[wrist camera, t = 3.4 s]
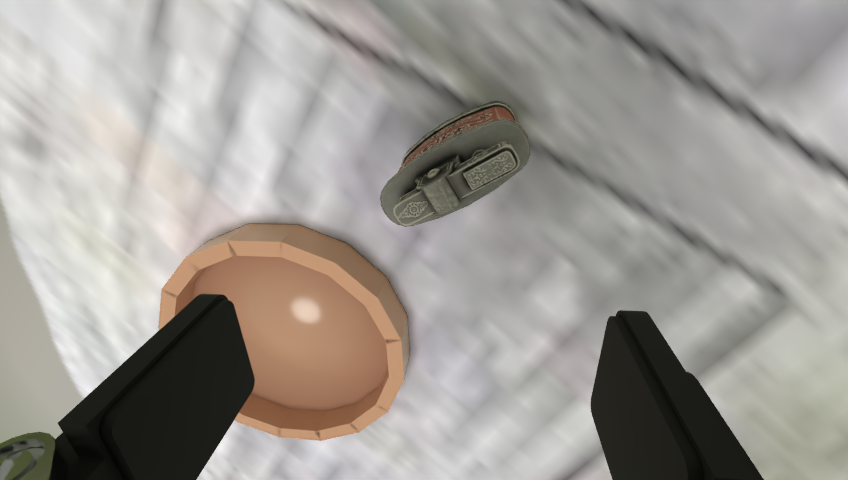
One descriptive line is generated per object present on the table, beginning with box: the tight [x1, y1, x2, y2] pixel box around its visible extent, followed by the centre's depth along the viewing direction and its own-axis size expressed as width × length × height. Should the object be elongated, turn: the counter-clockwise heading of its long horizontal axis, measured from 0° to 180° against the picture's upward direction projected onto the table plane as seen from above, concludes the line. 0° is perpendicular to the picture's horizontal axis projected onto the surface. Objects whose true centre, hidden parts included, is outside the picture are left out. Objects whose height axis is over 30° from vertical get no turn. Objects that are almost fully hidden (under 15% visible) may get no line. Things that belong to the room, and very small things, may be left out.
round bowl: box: [159, 224, 409, 441], centre depth 34 cm, size 20×20×3 cm
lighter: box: [380, 101, 530, 227], centre depth 22 cm, size 8×3×10 cm, turn 121°
